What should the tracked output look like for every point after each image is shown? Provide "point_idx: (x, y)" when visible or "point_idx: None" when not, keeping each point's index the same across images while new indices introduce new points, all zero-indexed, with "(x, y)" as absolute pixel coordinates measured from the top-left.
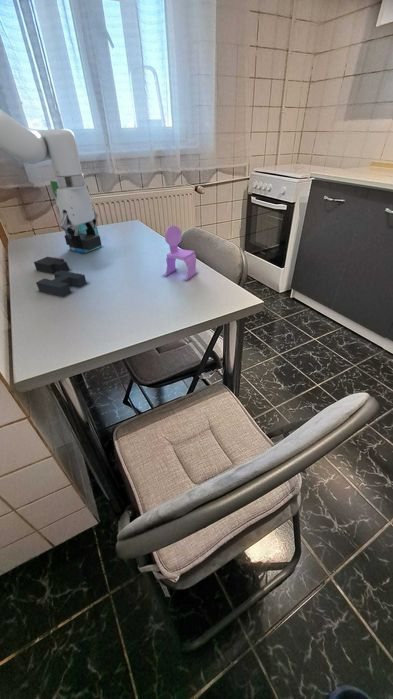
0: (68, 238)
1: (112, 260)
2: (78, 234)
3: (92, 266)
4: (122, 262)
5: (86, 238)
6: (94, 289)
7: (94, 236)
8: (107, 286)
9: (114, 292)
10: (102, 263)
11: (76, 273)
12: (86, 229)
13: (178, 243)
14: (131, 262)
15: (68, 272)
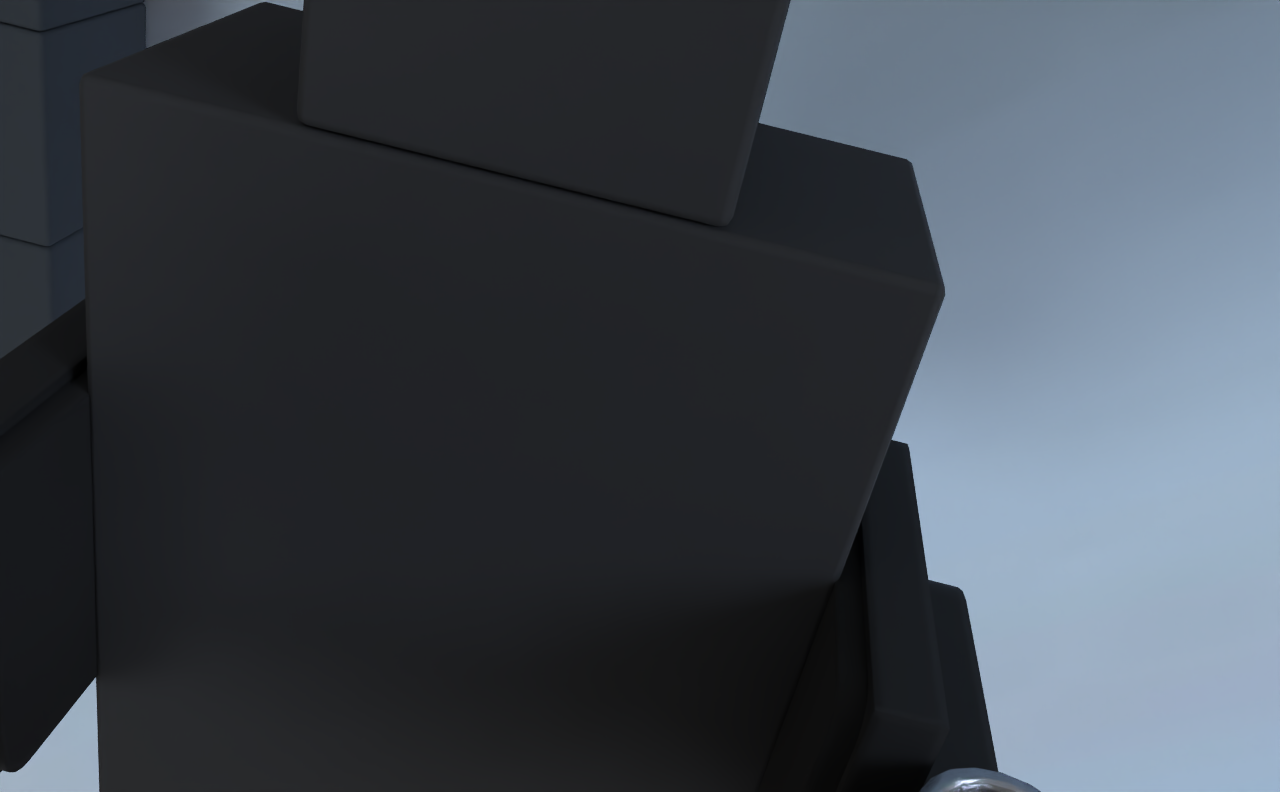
0: (92, 106)
1: (1271, 354)
2: (684, 293)
3: (896, 68)
4: (1134, 576)
5: (292, 775)
6: None
7: None
8: None
9: (74, 773)
10: (1086, 213)
11: (38, 255)
12: (867, 724)
13: None
14: (1128, 714)
15: (10, 58)
